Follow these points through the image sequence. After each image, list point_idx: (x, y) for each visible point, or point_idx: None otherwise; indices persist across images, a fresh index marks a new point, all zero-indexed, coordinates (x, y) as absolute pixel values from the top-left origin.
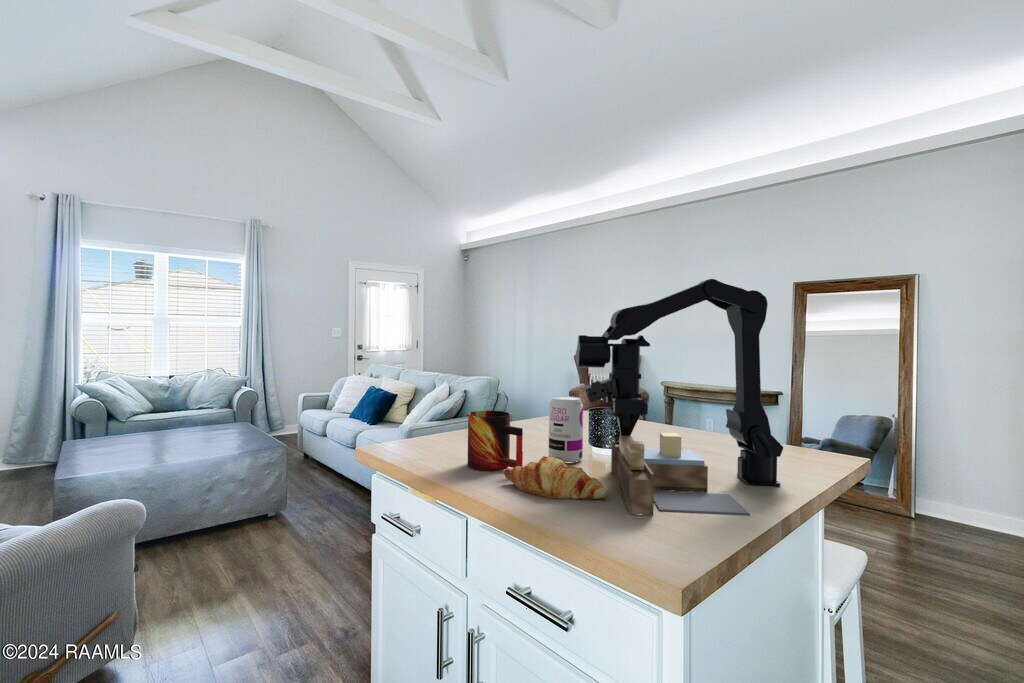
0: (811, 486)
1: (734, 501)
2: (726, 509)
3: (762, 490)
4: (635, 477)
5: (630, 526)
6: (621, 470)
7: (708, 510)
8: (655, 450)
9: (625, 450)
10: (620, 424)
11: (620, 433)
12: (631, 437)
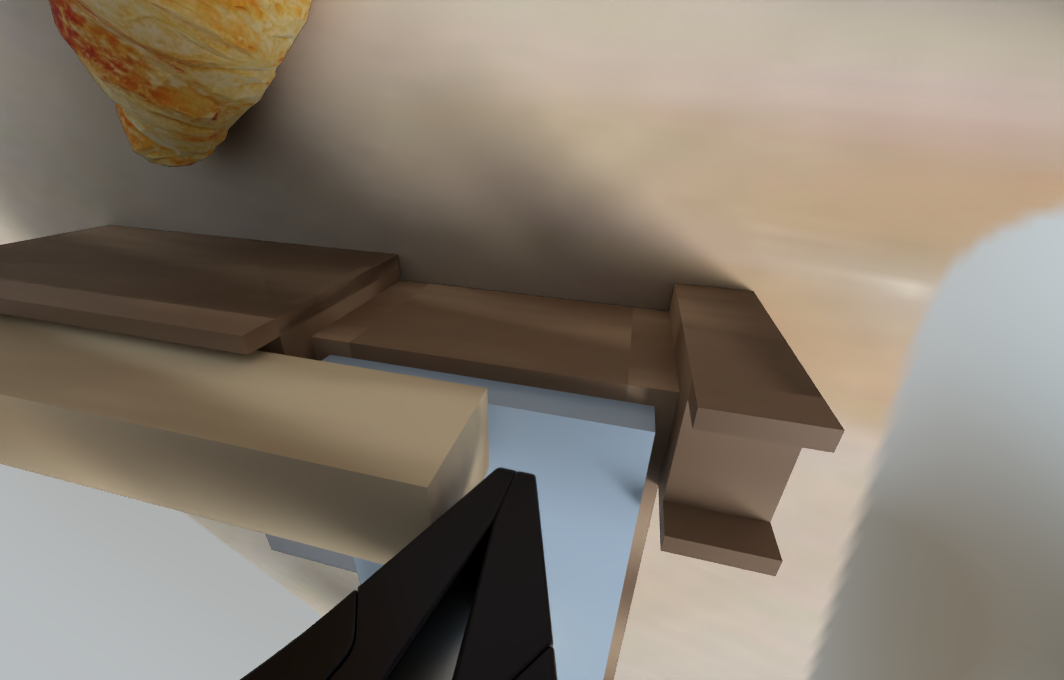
0: None
1: (349, 566)
2: None
3: None
4: None
5: (20, 205)
6: (188, 283)
7: None
8: (561, 603)
9: (79, 373)
10: (299, 640)
11: (497, 530)
12: (362, 553)
